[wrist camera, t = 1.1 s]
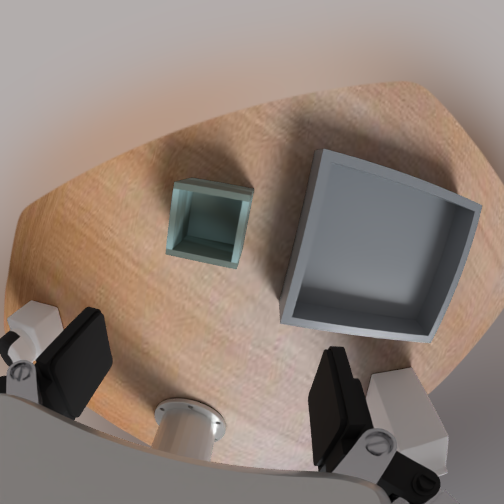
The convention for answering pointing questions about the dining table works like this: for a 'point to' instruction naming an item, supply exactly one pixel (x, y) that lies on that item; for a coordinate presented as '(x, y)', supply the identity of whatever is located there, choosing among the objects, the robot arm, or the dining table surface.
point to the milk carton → (408, 417)
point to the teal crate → (208, 221)
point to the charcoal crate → (375, 251)
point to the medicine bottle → (30, 332)
